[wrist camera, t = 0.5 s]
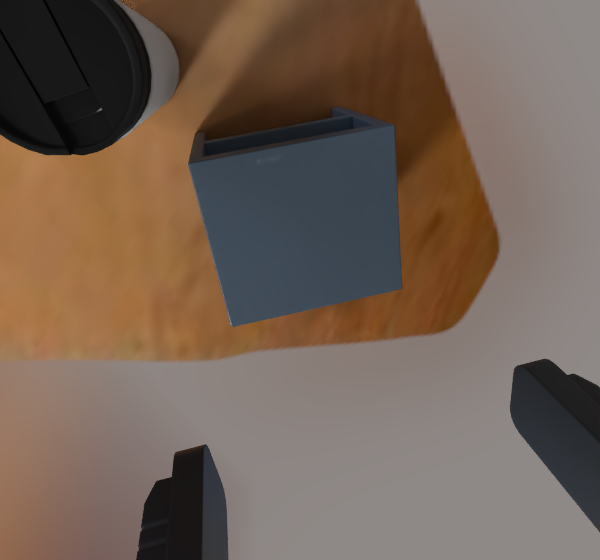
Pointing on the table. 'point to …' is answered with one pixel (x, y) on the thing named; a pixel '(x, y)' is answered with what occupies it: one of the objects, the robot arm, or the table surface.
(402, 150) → the table surface
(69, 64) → the travel mug
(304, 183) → the shelf
